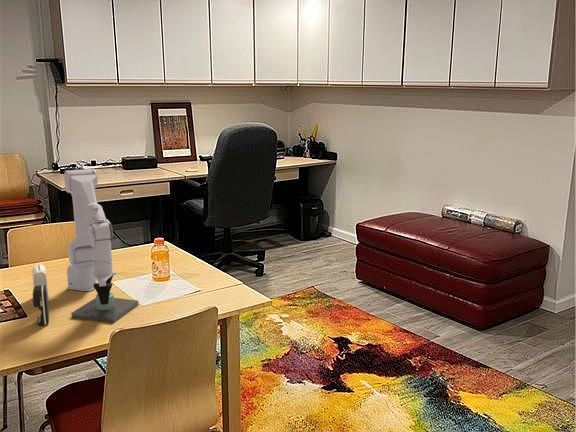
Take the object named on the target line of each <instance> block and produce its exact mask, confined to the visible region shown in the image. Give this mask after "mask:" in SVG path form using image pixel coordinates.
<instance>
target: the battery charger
mask: <svg viewBox="0 0 576 432" xmlns="http://www.w3.org/2000/svg"><path fill="white" fill-rule="evenodd" d="M32 306H33V307H34V308H38V310H39V311H40V314H39V316H37V325H38V326H48V325H49V322H50V313H49V302H48V300H47V290H46V285H39V286H35V287H34V286H33V288H32Z"/></svg>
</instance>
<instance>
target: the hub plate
mask: <svg viewBox="0 0 576 432" xmlns="http://www.w3.org/2000/svg"><path fill="white" fill-rule="evenodd" d="M138 306H139V300H137V299H129V298H119V297H114V307H113V308H111V309H108V310H99V309H97V304H96V297H95V298H93V299H92V300H89V302H87V303H85V304H83V305H82V306H80V307H78V308H77V309H75V310H74V311H72V312H71V318H74V319H83V320H89V321H97V322H98V321H99V322H106V323H112V324H113V323H114V324H115V323H116V322H117V321H118V320H120V319H121V318H123V317H124V316H125V315H126V314H128V313H129V312H131V311H133V310H134V309H135V308H136V307H138Z"/></svg>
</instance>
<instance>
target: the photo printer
mask: <svg viewBox="0 0 576 432" xmlns="http://www.w3.org/2000/svg"><path fill="white" fill-rule="evenodd" d="M31 273H32V282H33V288H34V287H35V286H39V285H46V290H47V300H48V303H49V300H50V299H49V297H50V296H49V288H48V278H47V277H48V276H47V269H46V267H45V266H44V265H43V264H42V263H41V264H39V263H38V264H35V265H34V266H33V268H32V272H31Z"/></svg>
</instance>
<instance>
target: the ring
mask: <svg viewBox="0 0 576 432" xmlns="http://www.w3.org/2000/svg"><path fill="white" fill-rule="evenodd" d="M114 295H115V293H114V292H111V291H110V293H109V302H108V304H104V305H101V303H100V300H99V296H98V293H97V294H96V295H95V298H96V304H97V309H99V310H108V309H111V308H113V307H114V298H115V296H114Z"/></svg>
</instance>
